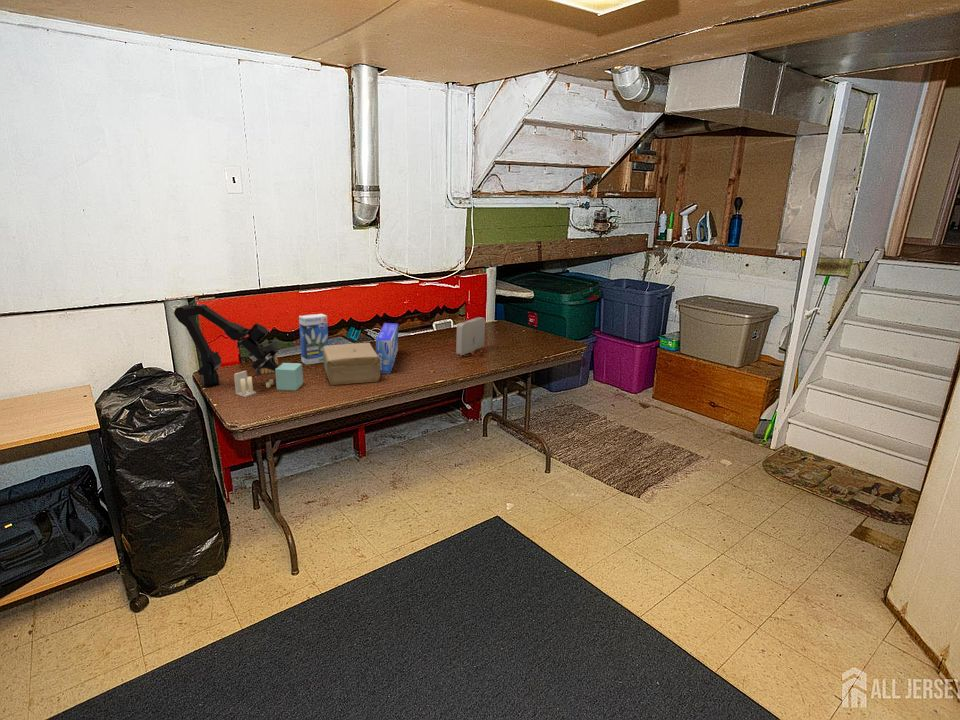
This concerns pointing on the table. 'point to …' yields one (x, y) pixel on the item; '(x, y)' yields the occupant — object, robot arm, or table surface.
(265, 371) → the ammunition clip
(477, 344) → the network device
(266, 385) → the board
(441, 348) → the table surface
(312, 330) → the string lights box
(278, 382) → the housing
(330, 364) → the paper package
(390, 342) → the toner cartridge box
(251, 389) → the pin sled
